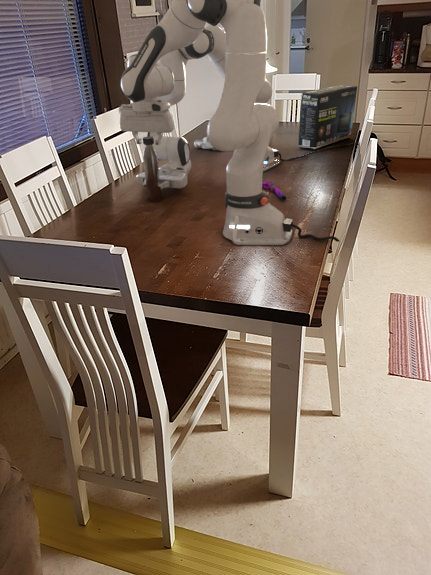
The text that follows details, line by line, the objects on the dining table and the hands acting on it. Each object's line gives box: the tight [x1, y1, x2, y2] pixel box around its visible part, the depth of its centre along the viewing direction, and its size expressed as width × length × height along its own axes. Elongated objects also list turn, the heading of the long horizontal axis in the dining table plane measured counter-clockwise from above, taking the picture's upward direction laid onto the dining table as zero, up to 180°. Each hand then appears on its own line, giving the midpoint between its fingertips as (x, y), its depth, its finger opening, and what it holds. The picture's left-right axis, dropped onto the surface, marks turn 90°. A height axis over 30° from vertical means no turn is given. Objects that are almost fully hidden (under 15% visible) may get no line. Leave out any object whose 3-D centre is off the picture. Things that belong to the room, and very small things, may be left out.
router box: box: [297, 84, 358, 151], centre depth 238 cm, size 36×11×27 cm, turn 134°
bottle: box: [142, 145, 162, 202], centre depth 174 cm, size 5×5×23 cm
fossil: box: [193, 135, 218, 152], centre depth 245 cm, size 18×11×15 cm
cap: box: [142, 136, 154, 146], centre depth 169 cm, size 4×4×2 cm
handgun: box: [262, 180, 287, 202], centre depth 181 cm, size 21×8×2 cm, turn 11°
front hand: (148, 144), depth 169 cm, fingers open, 6 cm apart
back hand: (152, 186), depth 177 cm, fingers closed on bottle, 5 cm apart
